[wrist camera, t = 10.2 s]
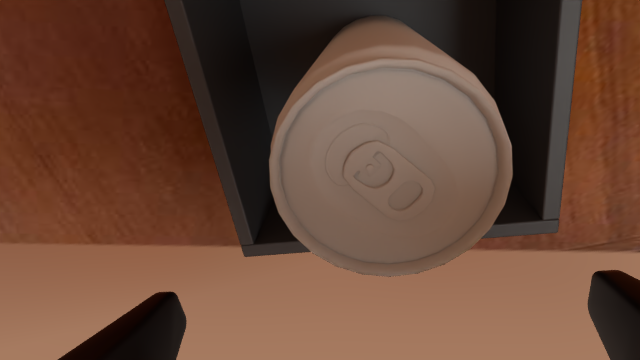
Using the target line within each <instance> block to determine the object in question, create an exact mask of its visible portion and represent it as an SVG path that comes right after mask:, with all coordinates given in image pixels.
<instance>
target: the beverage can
mask: <svg viewBox="0 0 640 360" xmlns="http://www.w3.org/2000/svg"><path fill="white" fill-rule="evenodd" d="M269 170H270V188H271V191H272V194H273V198H274V201H275V204H276V207H277V210H278V213H279V214H280V216H281V217H282V219H283V221H284V222H285V224H286V225H287V227H288V228H289V230H290V231H291V233H292V234H293V236H295V237H296V238H297V239H298V240H299V241H300V242H301V243H302V244H303V245H304V246H305V247H306V248H308V249H309V250H310V251H311V252H312V253H313V254H315V255H317V256H319V257H321V258H322V259H324V260H326V261H327V262H329V263H331V264H333V265H335V266H337V267H340V268H343V269H347V270H350V271H353V272H356V273H360V274H364V275H376V276H389V277H391V276H400V275H408V274H417V273H420V272H423V271H426V270H429V269H432V268H435V267H438V266H441V265H444V264H446V263H448V262H449V261H451V260H453V259H454V258H456V257H458V256H459V255H461V254H462V253H464V252H466V251H468V250H469V249H470V248H471V247H472V246H473V245H474V244H475V243H476V242H477V241H479V240H480V239H481V238H482V237H483V236H484V235H485V234H486V233H487V232H488V231H489V230H490V228H491V227H492V225H493V223H494V222H495V220H496V218H497V217H498V215H499V213H500V212H501V210H502V209H503V207H504V205H505V203H506V199H507V195H508V191H509V188H510V184H511V180H512V176H513V169H512V145H511V142H510V140H509V137H508V134H507V131H506V129H505V126H504V123H503V121H502V118H501V115H500V113H499V110H498V108H497V105H496V102H495V101H494V99H493V98H492V97H491V95H490V94H489V93H488V91H487V90H486V89H485V88H484V86H483V85H482V84H481V82H480V81H479V80H478V79H477V77H476V76H475V75H474V74H473V73H472V72H471V71H469V70H468V69H466V68H465V67H464V66H462V65H461V64H460V63H458V62H457V61H456V60H454V59H453V58H451V57H450V56H449V55H447V54H446V53H445V52H443V51H442V50H440V49H439V48H438V47H436V46H435V45H434V44H432V43H431V42H429V41H428V40H426V39H425V38H424V37H422V36H421V35H419V34H418V33H417V32H415V31H414V30H412V29H411V28H410V27H408V26H407V25H406V24H404V23H403V22H401V21H400V20H397V19H394V18H391V17H388V16H368V17H364V18H360V19H357V20H355V21H353V22H352V23H350V24H348V25H346V26H345V27H343V28H342V29H341V30H340V31H339V32H338V33H337V34H336V35H335V36H334V37H333V39H332V40H331V41H330V43H329V44H328V45H327V47H326V48H325V49H324V51H323V52H322V53H321V54H320V56H319V57H318V58H317V60H316V61H315V62H314V64H313V65H312V66H311V68H310V69H309V70H308V72H307V73H306V74H305V75H304V77H303V78H302V79H301V81H300V82H299V83H298V85H297V86H296V87H295V89H294V90H293V92H292V93H291V95H290V97H289V99H288V100H287V102H286V104H285V106H284V107H283V109H282V111H281V113H280V114H279V116H278V118H277V122H276V126H275V130H274V134H273V138H272V142H271V154H270V158H269Z"/></svg>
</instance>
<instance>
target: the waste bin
mask: <svg viewBox="0 0 640 360" xmlns="http://www.w3.org/2000/svg"><path fill="white" fill-rule="evenodd" d="M164 1H165V4H166V7H167V11H168V14H169V17H170V20H171V23H172V27H173V30H174V33H175V36H176V39H177V43H178V46H179V49H180V52H181V55H182V59H183V62H184V65H185V68H186V71H187V75H188V78H189V81H190V84H191V87H192V91H193V94H194V97H195V100H196V103H197V107H198V110H199V113H200V116H201V119H202V123H203V126H204V129H205V132H206V135H207V139H208V142H209V145H210V148H211V151H212V155H213V158H214V161H215V164H216V167H217V171H218V174H219V177H220V180H221V183H222V187H223V190H224V193H225V196H226V199H227V203H228V206H229V209H230V212H231V215H232V219H233V222H234V225H235V228H236V231H237V235H238V238H239V241H240V244H241V247H242V251H243V254H244V256H245V257H250V256H263V255H276V254H289V253H302V252H311V251H310V250H309V249H308V248H306V247H305V246H304V245H303V244H302V243H301V242H300V241H299V240H298V239H297V238H296V237H295V236H293V234H292V233H291V231H290V230H289V228H288V227H287V225H286V224H285V222H284V221H283V219H282V217H281V216H280V214H279V213H278V210H277V207H276V204H275V201H274V198H273V194H272V191H271V188H270V170H269V158H270V154H271V142H272V138H273V134H274V130H275V126H276V122H277V118H278V116H279V114H280V113H281V111H282V109H283V107H284V106H285V104H286V102H287V100H288V99H289V97H290V95H291V93H292V92H293V90H294V89H295V87H296V86H297V85H298V83H299V82H300V81H301V79H302V78H303V77H304V75H305V74H306V73H307V72H308V70H309V69H310V68H311V66H312V65H313V64H314V62H315V61H316V60H317V58H318V57H319V56H320V54H321V53H322V52H323V51H324V49H325V48H326V47H327V45H328V44H329V43H330V41H331V40H332V39H333V37H334V36H335V35H336V34H337V33H338V32H339V31H340V30H341V29H342V28H343V27H345V26H346V25H348V24H350V23H352V22H353V21H355V20H357V19H360V18H364V17H368V16H388V17H391V18H394V19H397V20H400V21H401V22H403V23H404V24H406V25H407V26H408V27H410V28H411V29H412V30H414V31H415V32H417V33H418V34H419V35H421V36H422V37H424V38H425V39H426V40H428V41H429V42H431V43H432V44H434V45H435V46H436V47H438V48H439V49H440V50H442V51H443V52H445V53H446V54H447V55H449V56H450V57H451V58H453V59H454V60H456V61H457V62H458V63H460V64H461V65H462V66H464V67H465V68H466V69H468V70H469V71H471V72H472V73H473V74H474V75H475V76H476V77H477V79H478V80H479V81H480V82H481V84H482V85H483V86H484V88H485V89H486V90H487V91H488V93H489V94H490V95H491V97H492V98H493V99H494V101H495V102H496V105H497V108H498V110H499V113H500V115H501V118H502V121H503V123H504V126H505V129H506V131H507V134H508V137H509V140H510V142H511V145H512V169H513V176H512V180H511V184H510V188H509V191H508V195H507V199H506V203H505V205H504V207H503V209H502V210H501V212H500V213H499V215H498V217H497V218H496V220H495V222H494V223H493V225H492V227H491V228H490V230H489V231H488V232H487V233H486V234H485V235H484V236H483V237H482V238H495V237H508V236H521V235H534V234H547V233H557V232H558V226H559V219H558V218H559V217H560V207H561V197H562V188H563V178H564V169H565V159H566V150H567V140H568V131H569V121H570V111H571V102H572V92H573V83H574V73H575V64H576V54H577V44H578V35H579V25H580V16H581V6H582V0H164ZM482 238H481V239H482Z"/></svg>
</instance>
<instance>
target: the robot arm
mask: <svg viewBox="0 0 640 360" xmlns="http://www.w3.org/2000/svg"><path fill="white" fill-rule="evenodd" d="M588 310H589V314H590V316H591V319H592V321H593V323H594V325H595V327H596V329H597V332H598V333H599V336H600V338H601V340H602V342H603V345H604V347H605V349H606V351H607V353H608V355H609V358H610V360H640V280H638V279H636V278H634V277H632V276H630V275H628V274H626V273H624V272H622V271H619V270H608V271H597V272H595V273H594V274H593V276H592V280H591V286H590V292H589V299H588ZM185 329H186V316H185V314H184V311H183V309H182V307H181V304H180V302H179V299H178V296H177V295H176V294H175V293H174V292H159V293H156V294H154V295H152V296H151V297H150V298H148V299H147V300H145V301H144V302H142V303H141V304H139V305H138V306H136V307H135V308H133V309H132V310H131V311H129V312H127V313H126V314H124V315H123V316H122V317H120V318H119V319H117V320H116V321H114V322H113V323H111V324H110V325H108V326H107V327H105V328H104V329H103V330H101V331H99V332H98V333H96V334H95V335H93V336H92V337H91V338H89V339H87V340H86V341H85V342H83V343H82V344H80V345H79V346H77V347H76V348H74V349H73V350H71V351H70V352H68V353H67V354H65V355H64V356H62V357H61V358H59V359H58V360H176V357H177V355H178V351H179V348H180V345H181V341H182V338H183V335H184V332H185Z"/></svg>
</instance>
